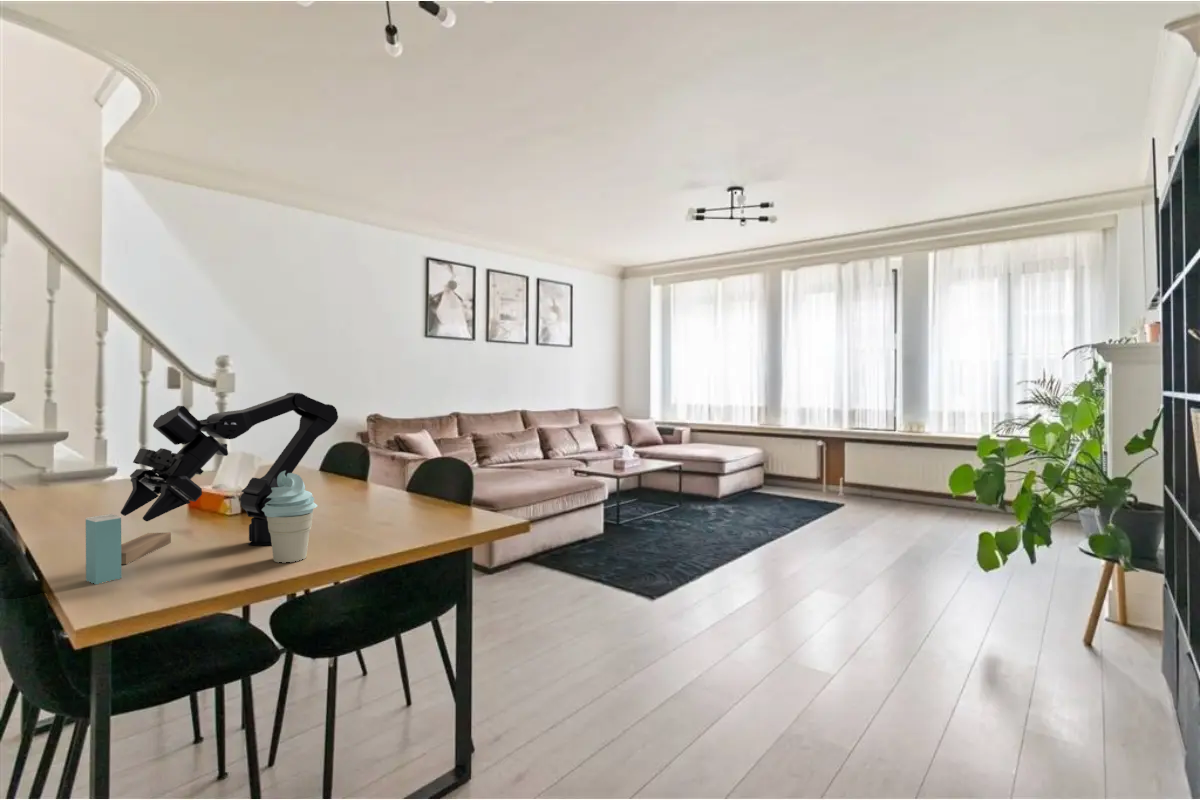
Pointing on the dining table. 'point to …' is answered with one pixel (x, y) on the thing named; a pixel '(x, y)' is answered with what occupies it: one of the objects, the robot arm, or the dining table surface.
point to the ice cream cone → (289, 518)
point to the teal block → (103, 548)
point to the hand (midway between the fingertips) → (133, 517)
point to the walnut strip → (143, 546)
